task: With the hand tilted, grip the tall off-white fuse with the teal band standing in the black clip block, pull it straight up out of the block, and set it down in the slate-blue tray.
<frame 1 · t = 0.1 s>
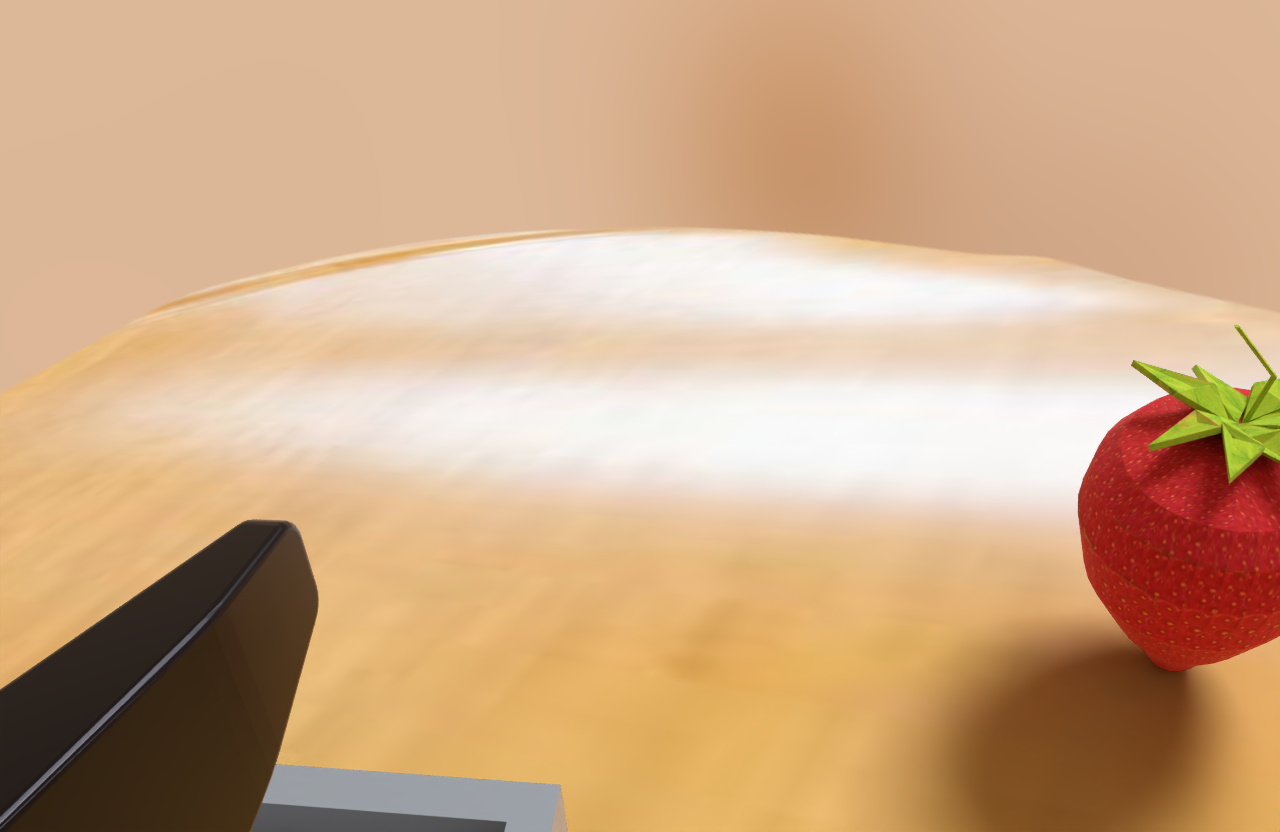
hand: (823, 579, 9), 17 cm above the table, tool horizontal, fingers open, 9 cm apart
strawberry: (1160, 663, 29), on the table
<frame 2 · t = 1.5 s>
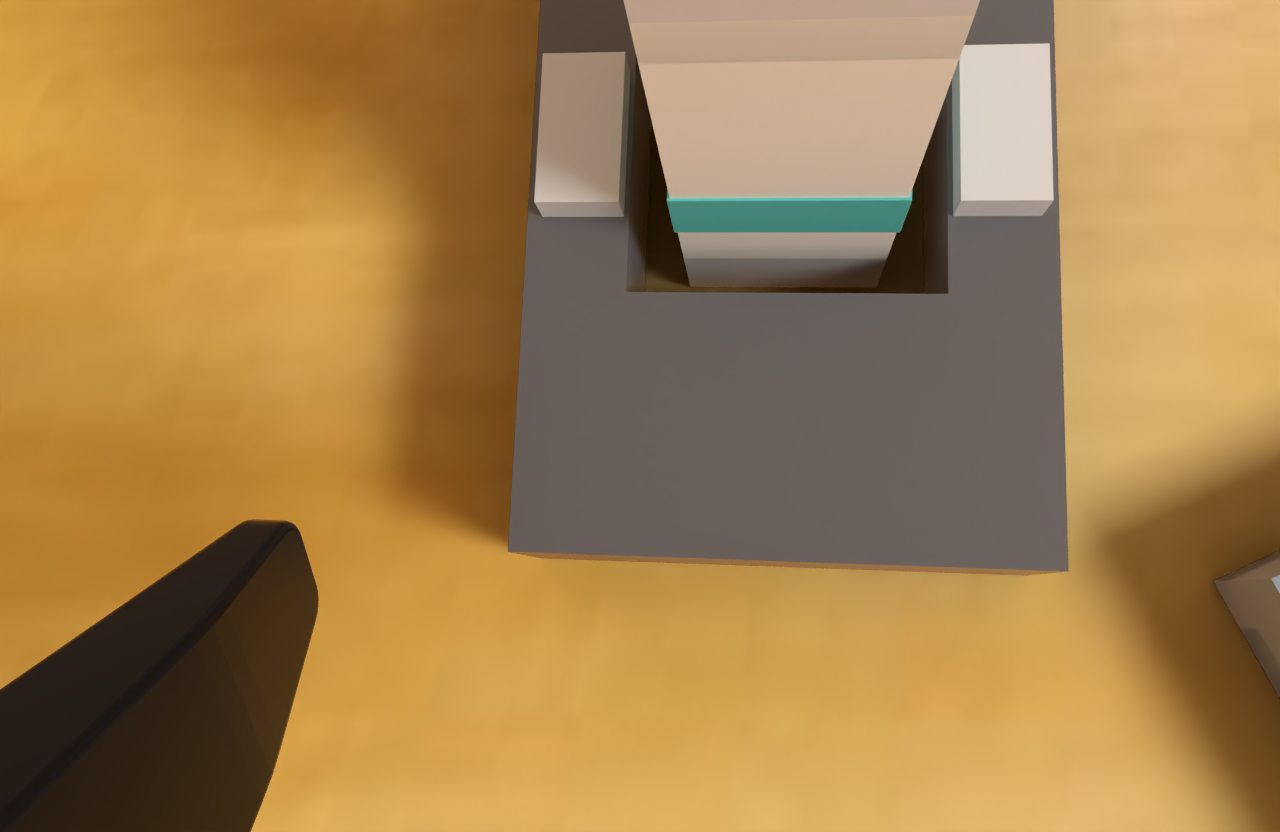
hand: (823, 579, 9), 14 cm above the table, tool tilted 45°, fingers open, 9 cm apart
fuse: (784, 199, 24), resting in clip block
clip block: (784, 198, 24), on the table
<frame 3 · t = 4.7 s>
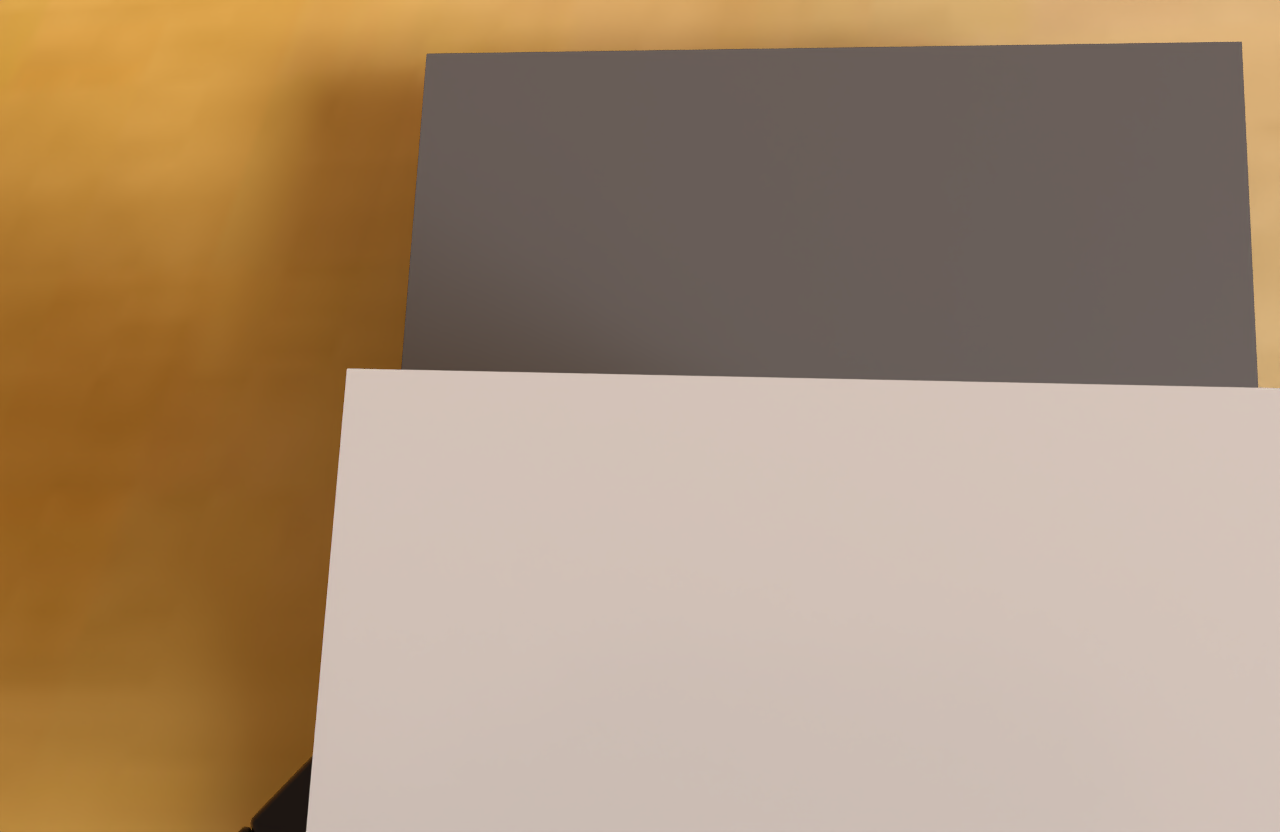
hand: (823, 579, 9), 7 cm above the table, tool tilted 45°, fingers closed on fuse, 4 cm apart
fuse: (795, 685, 15), resting in clip block, touching gripper
clip block: (795, 687, 15), on the table
when the fingers open (9 cm above the table, at t = 9.9 s): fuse drops 2 cm, resting on tray.
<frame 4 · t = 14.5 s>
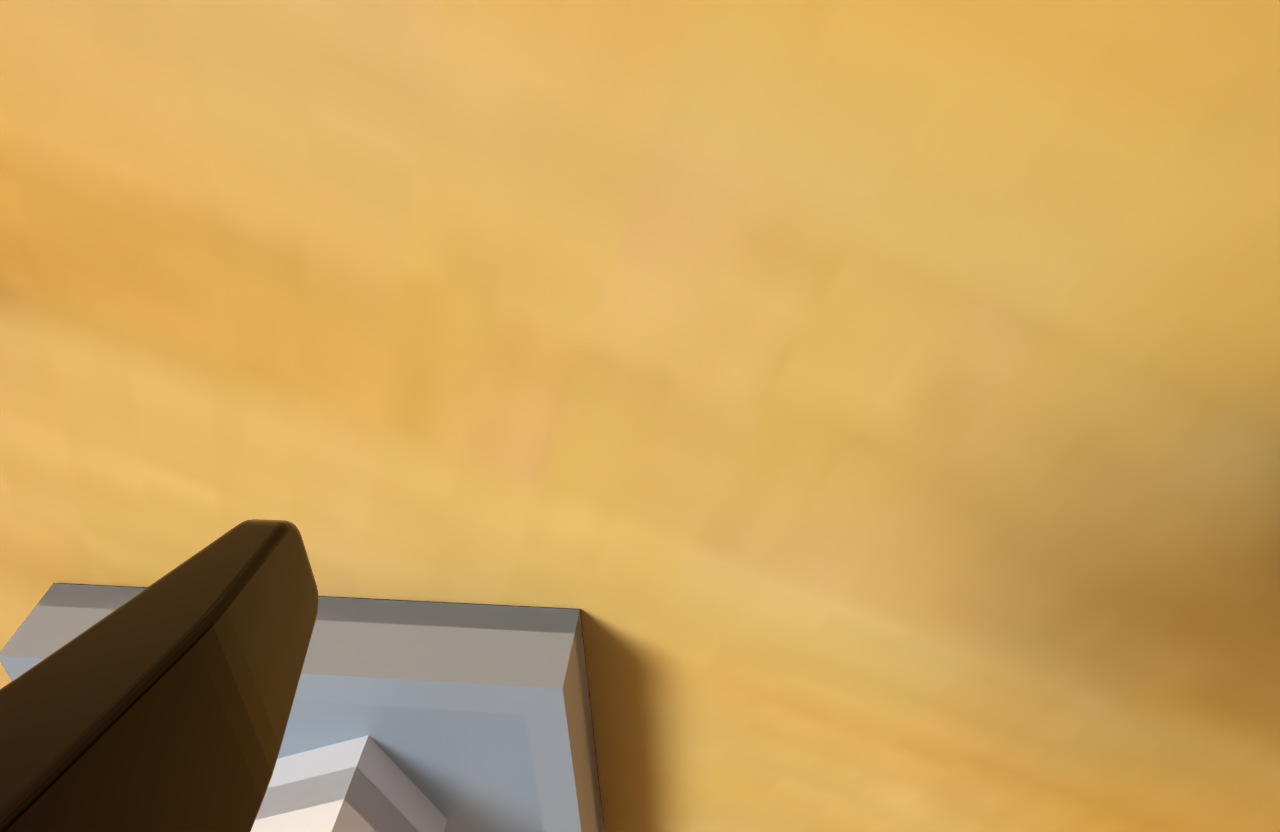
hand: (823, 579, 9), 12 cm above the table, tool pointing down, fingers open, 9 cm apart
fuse: (352, 792, 31), point 1 cm above the table, touching tray
tray: (362, 767, 32), on the table
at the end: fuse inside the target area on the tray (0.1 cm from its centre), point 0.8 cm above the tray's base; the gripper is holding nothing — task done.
